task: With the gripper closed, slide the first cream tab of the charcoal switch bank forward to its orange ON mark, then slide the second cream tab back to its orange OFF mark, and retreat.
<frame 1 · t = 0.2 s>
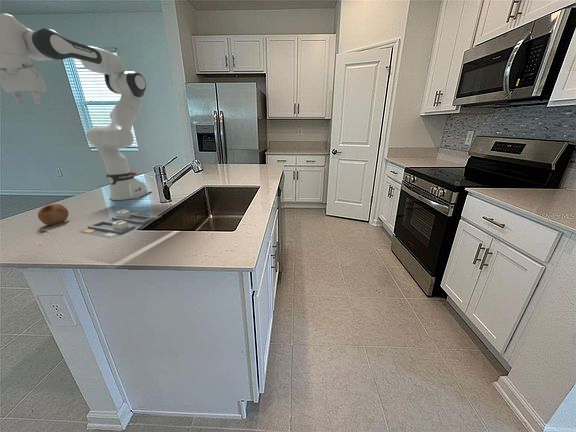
hand: (29, 104, 97), 47 cm above the counter, fingers open, 8 cm apart
onion: (57, 224, 104), on the counter
switch bank: (123, 226, 102), on the counter
tab 2: (120, 225, 95), point 3 cm above the counter, slide at 10.0 cm
tab 1: (123, 214, 107), point 3 cm above the counter, slide at 0.0 cm
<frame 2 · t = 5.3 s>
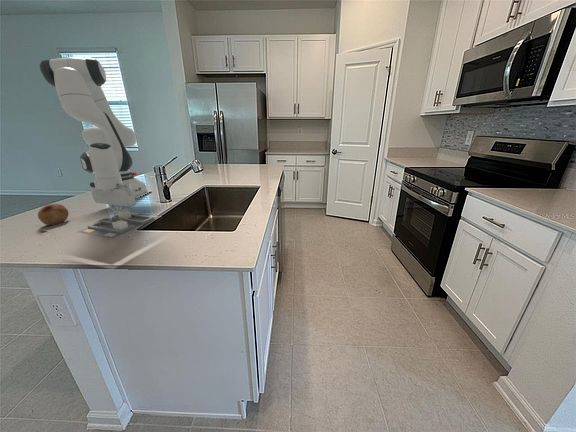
hand: (117, 213, 108), 3 cm above the counter, fingers closed
tab 1: (124, 214, 107), point 3 cm above the counter, slide at 0.3 cm, touching gripper
everything else where it was.
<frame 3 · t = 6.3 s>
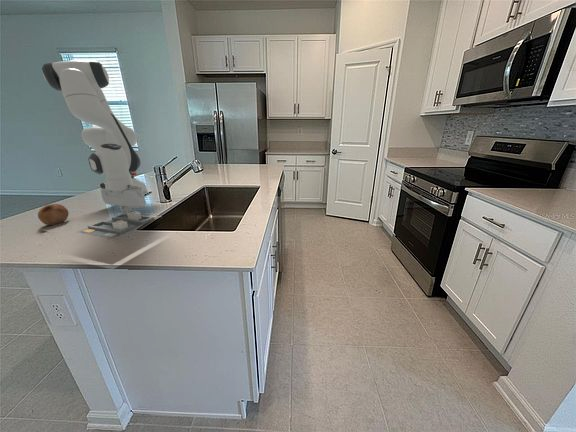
hand: (127, 215, 106), 3 cm above the counter, fingers closed
tab 1: (134, 215, 105), point 3 cm above the counter, slide at 6.1 cm, touching gripper
everything else where it was.
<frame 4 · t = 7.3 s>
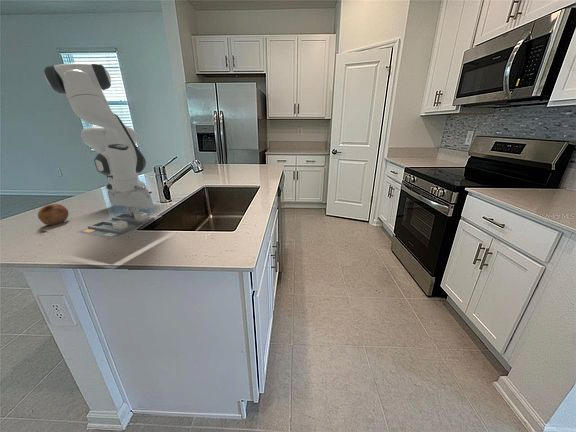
hand: (134, 216, 105), 3 cm above the counter, fingers closed
tab 1: (141, 216, 104), point 3 cm above the counter, slide at 9.8 cm, touching gripper
everything else where it was.
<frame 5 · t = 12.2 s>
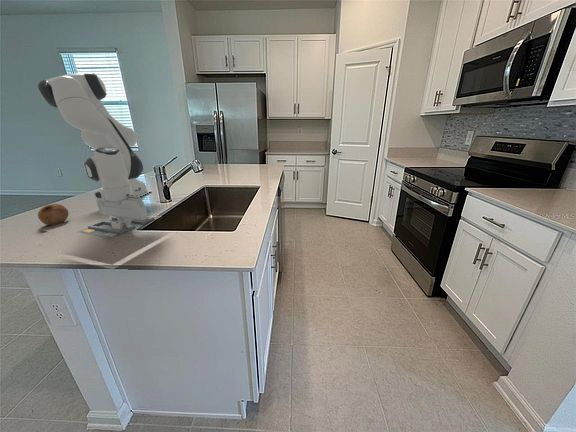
hand: (127, 227, 95), 3 cm above the counter, fingers closed
tab 2: (119, 225, 95), point 3 cm above the counter, slide at 9.5 cm, touching gripper
tab 1: (141, 216, 104), point 3 cm above the counter, slide at 9.9 cm
everything else where it was.
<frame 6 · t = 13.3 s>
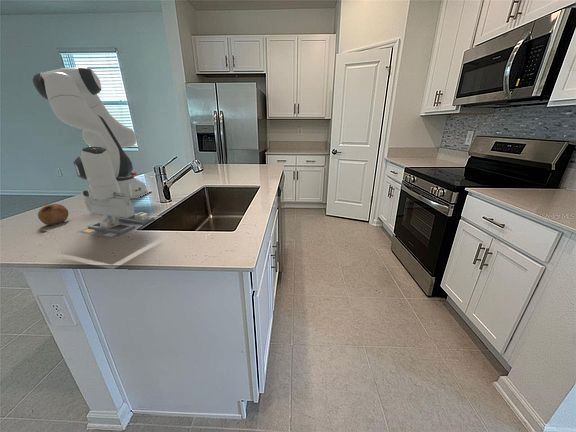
hand: (114, 225, 97), 3 cm above the counter, fingers closed
tab 2: (107, 223, 97), point 3 cm above the counter, slide at 3.2 cm, touching gripper
everything else where it was.
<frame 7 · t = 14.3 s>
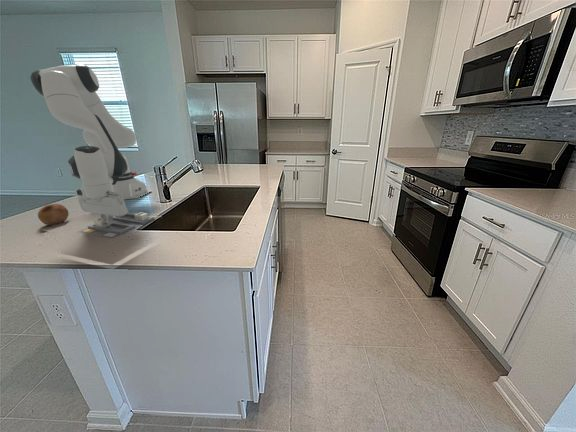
hand: (108, 223, 97), 3 cm above the counter, fingers closed
tab 2: (101, 222, 98), point 3 cm above the counter, slide at 0.1 cm, touching gripper
everything else where it was.
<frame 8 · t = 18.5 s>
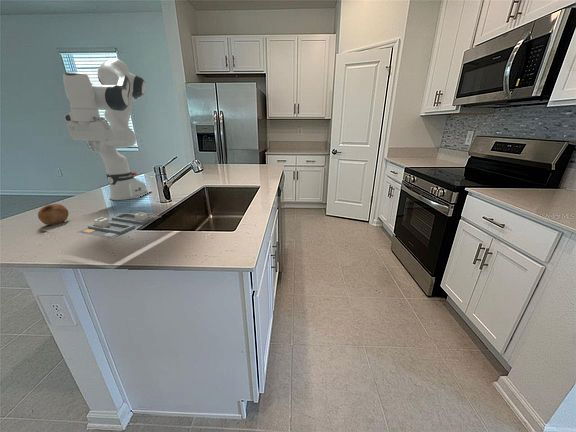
hand: (95, 151, 103), 29 cm above the counter, fingers closed
tab 2: (101, 222, 98), point 3 cm above the counter, slide at 0.1 cm
everything else where it was.
at the end: tab 1 slide at 9.9 cm; tab 2 slide at 0.1 cm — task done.
